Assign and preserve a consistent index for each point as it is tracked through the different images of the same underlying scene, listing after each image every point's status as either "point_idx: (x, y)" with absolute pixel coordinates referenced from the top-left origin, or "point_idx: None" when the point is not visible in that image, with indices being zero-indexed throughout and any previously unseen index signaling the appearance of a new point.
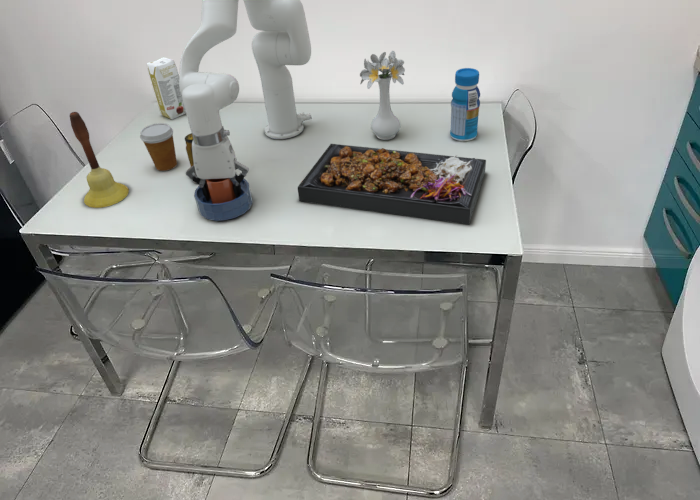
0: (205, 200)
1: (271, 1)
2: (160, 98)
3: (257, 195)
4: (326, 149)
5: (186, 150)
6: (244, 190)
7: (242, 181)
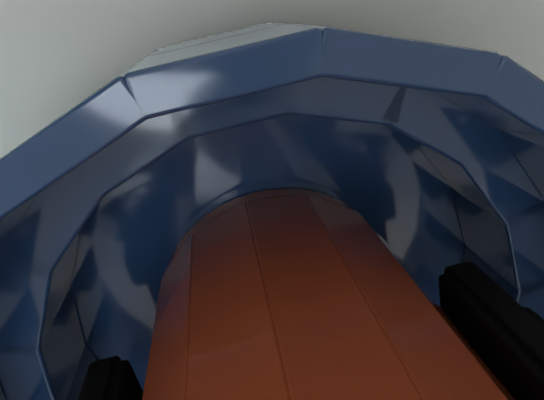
0: (67, 345)
1: None
2: None
3: (518, 46)
4: None
5: None
6: (496, 188)
7: (529, 132)
